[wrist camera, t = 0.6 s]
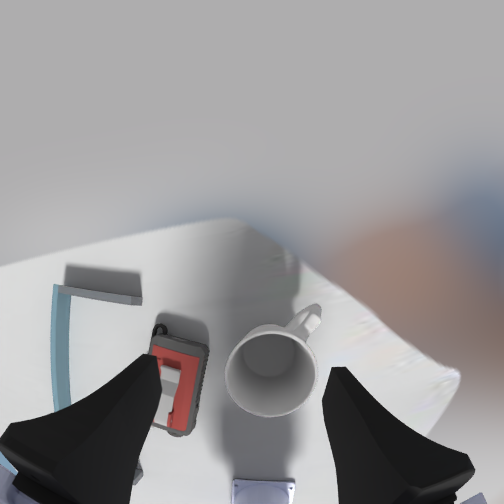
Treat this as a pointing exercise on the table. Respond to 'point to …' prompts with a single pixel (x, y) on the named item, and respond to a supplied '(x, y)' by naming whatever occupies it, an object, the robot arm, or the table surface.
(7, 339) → the table surface
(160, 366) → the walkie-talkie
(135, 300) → the tray
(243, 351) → the mug
